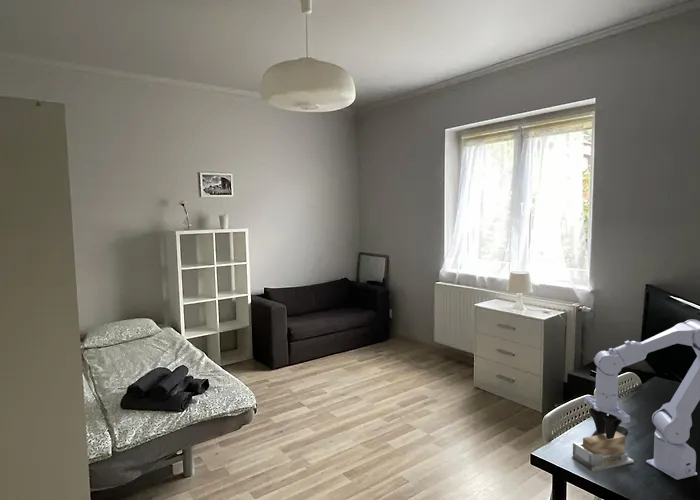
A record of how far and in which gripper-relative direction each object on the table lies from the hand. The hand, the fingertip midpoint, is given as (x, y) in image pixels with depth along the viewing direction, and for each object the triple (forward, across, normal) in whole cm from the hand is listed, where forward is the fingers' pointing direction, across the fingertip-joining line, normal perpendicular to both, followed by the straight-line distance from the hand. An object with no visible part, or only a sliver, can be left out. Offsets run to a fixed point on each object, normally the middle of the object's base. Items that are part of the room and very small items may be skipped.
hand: (605, 435), depth 131 cm
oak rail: (+6, 0, 0) cm, 6 cm away
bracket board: (+8, 0, 0) cm, 8 cm away
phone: (+8, -11, +14) cm, 20 cm away
